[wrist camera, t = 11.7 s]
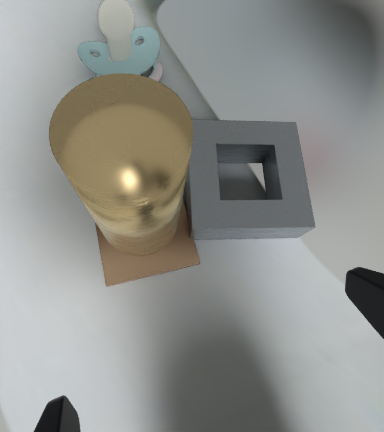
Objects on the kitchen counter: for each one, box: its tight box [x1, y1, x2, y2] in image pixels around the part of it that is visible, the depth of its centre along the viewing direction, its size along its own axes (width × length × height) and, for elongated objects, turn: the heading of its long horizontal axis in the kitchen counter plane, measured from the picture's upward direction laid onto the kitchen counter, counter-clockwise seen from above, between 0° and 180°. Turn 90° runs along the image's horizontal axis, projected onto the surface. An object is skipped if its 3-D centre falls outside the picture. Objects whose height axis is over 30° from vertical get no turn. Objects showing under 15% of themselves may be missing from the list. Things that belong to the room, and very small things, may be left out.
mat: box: [95, 199, 200, 286], centre depth 23 cm, size 7×7×1 cm
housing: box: [186, 120, 315, 240], centre depth 24 cm, size 9×9×3 cm
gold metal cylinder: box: [49, 73, 193, 256], centre depth 17 cm, size 5×5×13 cm
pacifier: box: [78, 0, 163, 81], centre depth 26 cm, size 7×6×6 cm
